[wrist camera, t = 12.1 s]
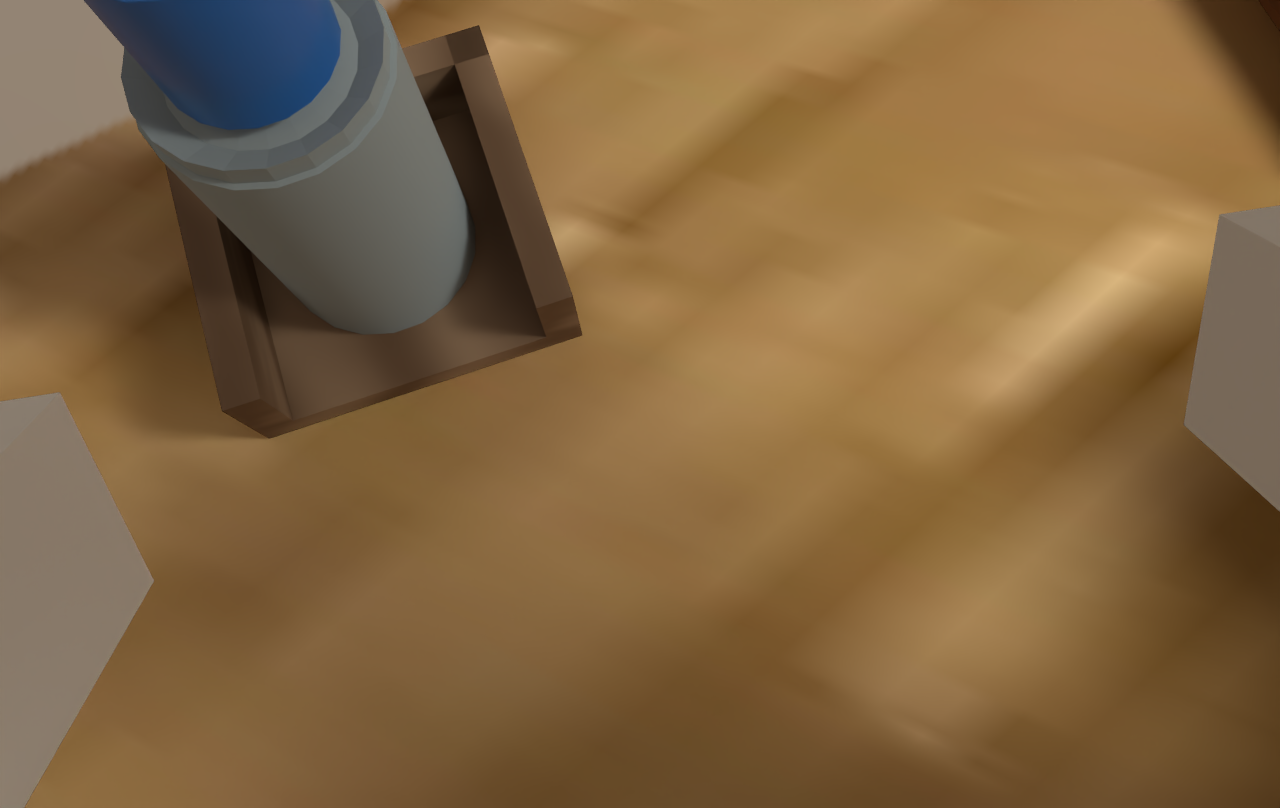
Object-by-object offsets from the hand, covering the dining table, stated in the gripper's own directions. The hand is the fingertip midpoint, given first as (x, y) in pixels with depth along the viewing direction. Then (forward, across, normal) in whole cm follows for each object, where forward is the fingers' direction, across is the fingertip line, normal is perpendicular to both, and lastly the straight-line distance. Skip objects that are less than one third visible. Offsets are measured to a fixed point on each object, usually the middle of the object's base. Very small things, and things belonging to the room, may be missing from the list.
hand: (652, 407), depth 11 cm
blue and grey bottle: (+34, -11, -9) cm, 37 cm away
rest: (+35, -11, -9) cm, 38 cm away
